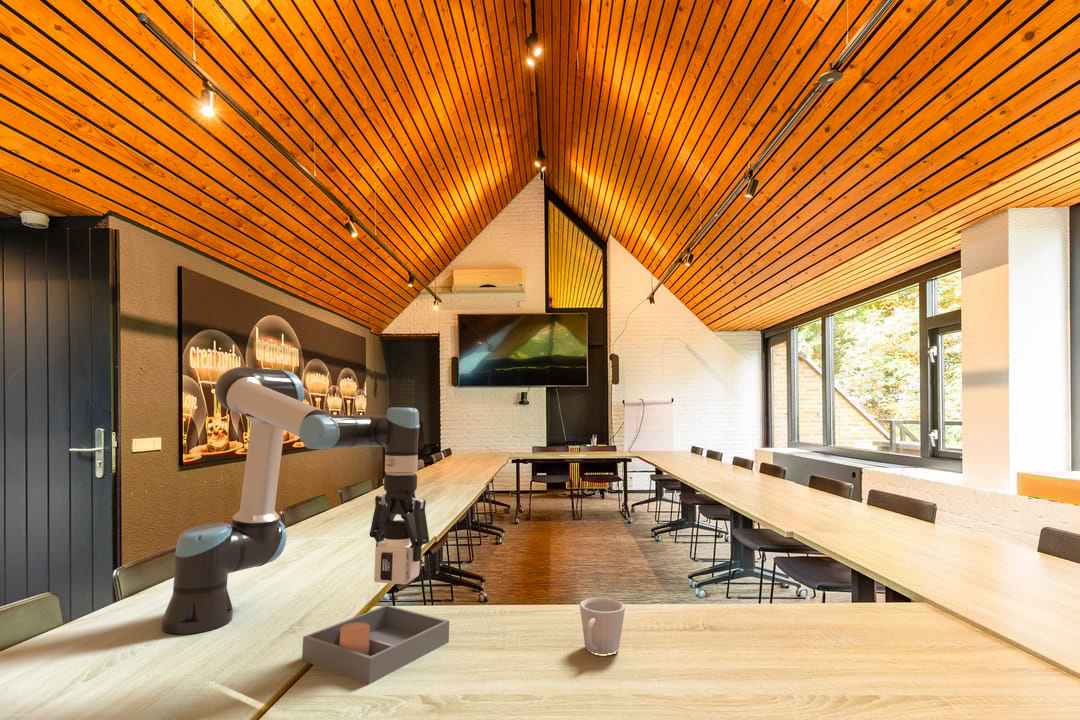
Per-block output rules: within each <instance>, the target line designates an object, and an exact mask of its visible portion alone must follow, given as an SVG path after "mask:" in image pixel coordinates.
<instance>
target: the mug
mask: <svg viewBox="0 0 1080 720" xmlns="http://www.w3.org/2000/svg"><path fill="white" fill-rule="evenodd" d="M579 610H580V618H581V625H582V626H581V627H582V632H583V633H582V634H583V640H584V647H586V648H585V650H586V649H587V650H589V651H590V652H593V653H598V654H608V653H613V652H615V651H617V650H618V649H619V650H620V645H621V638H622V630H623V625H624V619H625V618H624V617H625V612H626V606H625V604H624V603H623V602H621V601H618V600H616V599H612V598H609V597H607V598H606V597H591V598H587V599H584V600H582V601H581V602H580V603H579ZM587 650H586V651H587ZM619 650H618V651H619Z"/></svg>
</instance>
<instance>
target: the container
mask: <svg viewBox="0 0 1080 720" xmlns="http://www.w3.org/2000/svg"><path fill="white" fill-rule="evenodd" d="M384 542H385V544H382V545H380V546H378V547H376V546H375V549H374V550H375V551H374V553H375V554H374V572H373V573H374V575H373V577H374V578H373V581H374V583H381V584H392V585H394V584H395V585H406V584H408V583H410V582H412V581H413V580H414V579H416V578H417V577H419V575H416V576H413V577H408V560H409V547H410V546H411V545H412V544H411V541H410V538H409V535H408V531H407V528H406V525H405V522H404V519H396V520H395V519H394V520H393V521H390V522H388V523H386V524H385V527H384ZM420 562H421V560H420V561H419V565H420Z"/></svg>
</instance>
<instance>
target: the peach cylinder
mask: <svg viewBox="0 0 1080 720" xmlns="http://www.w3.org/2000/svg"><path fill="white" fill-rule="evenodd" d="M369 639H370V625H369V624H367V623H361V622H357V623H350V624H346V625H344V626H342V627H341V628H340V644H339V646H341V647H344V648H347V649H350V650H353V651H356V652H359V653H362V654H365V655H368V656H369Z"/></svg>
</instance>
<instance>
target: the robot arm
mask: <svg viewBox="0 0 1080 720" xmlns="http://www.w3.org/2000/svg"><path fill="white" fill-rule="evenodd" d="M214 394H215V398H216V400H217V402H218V403H219V404H220V405H221V406H222V407H223V408H225V409H227V410H228V411H231V412H232V413H235V414H240V415H245V418H246V419H247V420H248V421H249V422H250V427H249V434H248V443H247V450H246V451H247V452H246V458H245V459H246V460H245V468H244V474H243V481H242V482H243V483H242V491H241V497H240V498H241V499H240V506H239V507H240V508H239V511H237V512H236V513H235V514H234V515H232V520H231V524H229V523H228V522H213V523H212V522H211V523H204V524H201V525H197V526H193V527H190V528H188V529H186V530H185V531H183V532H181V534H180V535H179V536H178V538H177V543H176V546H175V547H176V549H175V559H174V560H175V561H174V576H173V588H172V589H173V590H172V596H171V598H170V600H169V602H168V604H167V607H166V610H165V612H164V614H163V616H162V619H161V630H162V632H164V633H166V634H172V635H187V634H188V635H189V634H198V633H203V632H208V631H211V630H212V631H213V630H216V629H217V628H221V627H223V626H226V625H227V624H229V623H230V622H231V621H232V620H233V616H234V609H233V608H234V607H233V603H232V601H231V598H230V595H229V591H228V578H229V577H228V576H229V574H232V573H235V572H239V571H243V570H246V569H252V568H255V567H256V568H257V567H262V566H265V565H266V564H271V563H272V562H274V561H276V560H277V558H279V557H281V554H282V553H283V552H284V549H285V547H286V543H287V539H288V538H287V537H288V536H287V530H285V529H286V528H285V527H286V526H285V525H284V523H283V522H282V521H281V520H280V515H279V514H278V513H277V511H275V509H276V508H275V507H276V501H277V491H278V484H279V476H280V467H281V461H282V459H281V458H282V453H283V446H284V445H283V443H284V436H285V431H286V432H287V433H289V434H292V435H294V436H296V437H299V439H300V442H302V444H303V446H304V447H306V448H307V449H309V450H320V451H324V450H329V449H332V450H333V449H345V448H348V449H349V448H367V447H371V448H372V447H373V448H376V447H378V448H379V447H381V448H385V449H384V451H385V453H384V456H385V457H384V472H385V473H387V474H384V479H383V490H384V491H385V494H381V495H376V496H375V498H374V499H375V500H374V505H375V507H374V510H373V515H372V519H371V520H372V521H371V526H370V531H369V537H370V538H373V539H374V540H375V548H376V547H378V546H380V545H382V544H385V542H384V527H385V524H386V523H388V522H390V521H393V520H395V518H396V516H397V515H399V516H400V517H401V520H404V522H405V525H406V528H407V531H408V535H409V538H410V541H411V544H412V545H411V546H410V547H409V560H408V577H413V576H416V575H418V576H419V575H420V564H419V561H420V562H421V560H422V547H423V545H427V544H429V543H430V534H429V528H428V522H427V516H426V505H427V504H426V503H427V502H426V499H425V498H422V499H421V498H420V499H418V498H416V490H417V488H418V475H417V474H416V473H417V472H418V466H419V465H418V464H419V461H418V460H419V459H418V458H419V452H418V450H419V449H418V448H419V435H420V433H419V432H420V427H421V425H420V413H419V410H418V409H417V408H415V407H388V408H387V410H386V414H385V415H368V414H360V415H355V414H354V415H351V414H350V415H349V414H348V415H347V414H346V415H343V414H333V413H330V412H328V411H326V410H323V409H321V408H318V407H316V406H314V405H311V404H308V403H305V402H304V397H305V391H304V386H303V383H302V381H301V380H300V378H299V376H298V375H296V374H295V373H294V372H291V371H288V370H284V369H283V370H282V369H275V368H273V369H272V368H260V367H250V366H237V367H233V368H230V369H228V370H226V371H225V372H224V373H222V374H221V376H219V378H218V379H217V380H216V383H215V387H214Z"/></svg>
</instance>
